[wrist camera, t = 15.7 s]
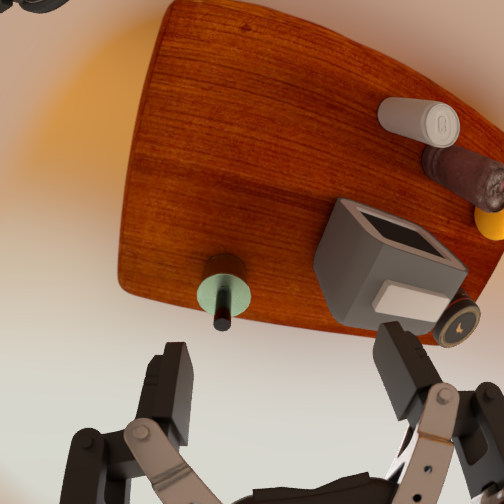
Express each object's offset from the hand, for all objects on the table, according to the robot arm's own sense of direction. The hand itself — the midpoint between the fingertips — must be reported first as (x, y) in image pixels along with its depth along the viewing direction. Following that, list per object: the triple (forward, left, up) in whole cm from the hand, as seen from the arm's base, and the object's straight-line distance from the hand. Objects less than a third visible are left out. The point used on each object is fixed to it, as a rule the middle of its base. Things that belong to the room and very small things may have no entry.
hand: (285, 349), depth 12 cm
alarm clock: (+16, -12, -30) cm, 35 cm away
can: (+27, +1, -30) cm, 40 cm away
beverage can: (+19, +7, -30) cm, 36 cm away
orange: (+39, -7, -30) cm, 49 cm away
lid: (-5, -14, -24) cm, 28 cm away
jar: (+34, -26, -30) cm, 52 cm away
